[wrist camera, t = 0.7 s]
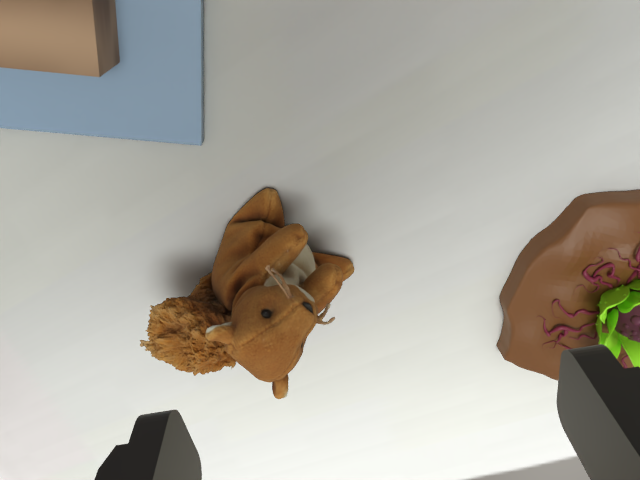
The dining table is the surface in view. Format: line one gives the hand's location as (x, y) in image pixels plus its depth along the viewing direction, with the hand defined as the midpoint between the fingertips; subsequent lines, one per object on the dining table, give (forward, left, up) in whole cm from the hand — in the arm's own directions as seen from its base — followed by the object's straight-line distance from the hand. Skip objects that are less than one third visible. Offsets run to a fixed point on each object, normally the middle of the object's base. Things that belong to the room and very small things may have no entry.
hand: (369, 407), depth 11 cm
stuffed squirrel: (+15, -3, -28) cm, 32 cm away
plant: (+15, +27, -28) cm, 42 cm away
